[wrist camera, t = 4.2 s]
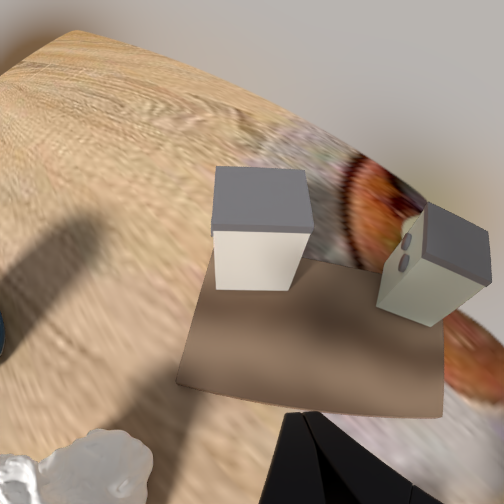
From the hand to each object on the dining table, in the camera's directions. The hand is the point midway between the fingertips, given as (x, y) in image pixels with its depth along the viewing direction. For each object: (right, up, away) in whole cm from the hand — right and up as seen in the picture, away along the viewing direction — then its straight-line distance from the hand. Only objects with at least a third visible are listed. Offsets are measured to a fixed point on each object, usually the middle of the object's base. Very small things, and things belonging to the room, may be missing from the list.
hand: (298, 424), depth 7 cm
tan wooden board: (+4, -1, +15) cm, 16 cm away
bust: (-11, -12, +8) cm, 18 cm away
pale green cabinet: (+11, +1, +16) cm, 19 cm away
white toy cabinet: (-1, +3, +16) cm, 17 cm away
